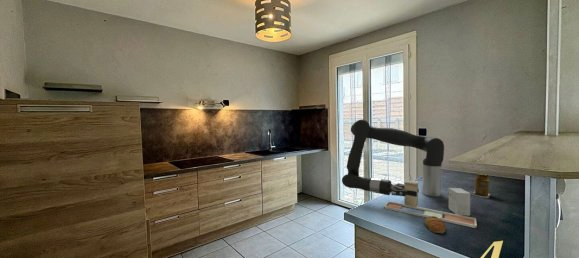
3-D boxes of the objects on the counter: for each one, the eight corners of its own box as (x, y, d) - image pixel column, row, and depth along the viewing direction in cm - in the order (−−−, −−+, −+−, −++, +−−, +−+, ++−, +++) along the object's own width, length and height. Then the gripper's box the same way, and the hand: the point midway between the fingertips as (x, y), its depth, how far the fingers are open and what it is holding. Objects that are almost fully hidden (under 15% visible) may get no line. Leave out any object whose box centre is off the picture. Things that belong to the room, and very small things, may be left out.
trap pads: (388, 203, 120) (388, 203, 120) (474, 220, 99) (474, 220, 99) (385, 207, 114) (385, 207, 114) (474, 227, 93) (474, 226, 93)
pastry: (449, 236, 87) (449, 226, 87) (429, 233, 89) (429, 224, 89) (441, 225, 96) (441, 216, 96) (423, 223, 98) (423, 214, 98)
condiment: (490, 194, 132) (490, 174, 132) (488, 198, 126) (489, 176, 126) (474, 191, 137) (474, 172, 137) (471, 195, 131) (472, 174, 131)
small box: (470, 216, 104) (470, 193, 103) (456, 215, 105) (457, 192, 104) (460, 209, 112) (461, 188, 111) (448, 208, 113) (448, 187, 112)
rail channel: (388, 202, 121) (388, 200, 121) (475, 220, 99) (475, 218, 99) (383, 208, 114) (383, 206, 114) (476, 228, 92) (476, 226, 92)
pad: (425, 210, 110) (425, 210, 110) (442, 214, 106) (442, 214, 106) (423, 215, 105) (423, 215, 105) (441, 219, 100) (441, 219, 100)
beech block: (406, 202, 114) (406, 180, 113) (417, 204, 111) (418, 181, 110) (404, 205, 110) (404, 182, 109) (416, 207, 107) (416, 184, 106)
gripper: (376, 182, 113) (415, 188, 103) (384, 176, 124) (420, 181, 114) (376, 197, 113) (415, 205, 103) (384, 189, 125) (419, 196, 114)
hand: (417, 192), depth 109 cm, fingers closed on beech block, 5 cm apart
